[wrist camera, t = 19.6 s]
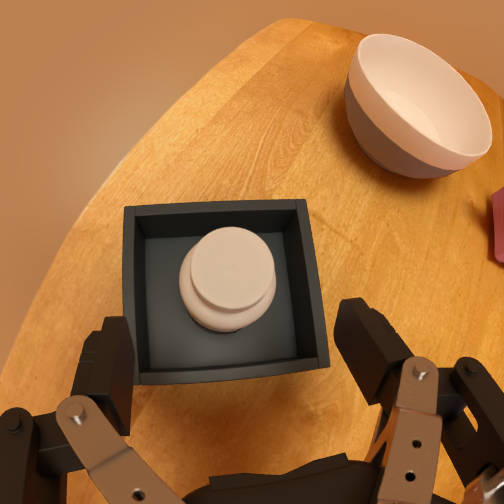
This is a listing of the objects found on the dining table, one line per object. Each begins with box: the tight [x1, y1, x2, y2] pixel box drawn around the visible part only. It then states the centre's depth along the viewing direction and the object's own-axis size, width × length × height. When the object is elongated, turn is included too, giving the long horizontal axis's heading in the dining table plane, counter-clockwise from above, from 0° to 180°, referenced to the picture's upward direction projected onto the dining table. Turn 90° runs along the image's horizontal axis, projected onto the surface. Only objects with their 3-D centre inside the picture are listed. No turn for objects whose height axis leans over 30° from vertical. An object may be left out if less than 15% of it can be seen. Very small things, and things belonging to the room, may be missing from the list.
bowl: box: [344, 34, 492, 178], centre depth 29 cm, size 16×16×10 cm
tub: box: [122, 199, 330, 385], centre depth 23 cm, size 13×12×5 cm
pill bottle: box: [179, 227, 276, 335], centre depth 20 cm, size 5×5×10 cm
